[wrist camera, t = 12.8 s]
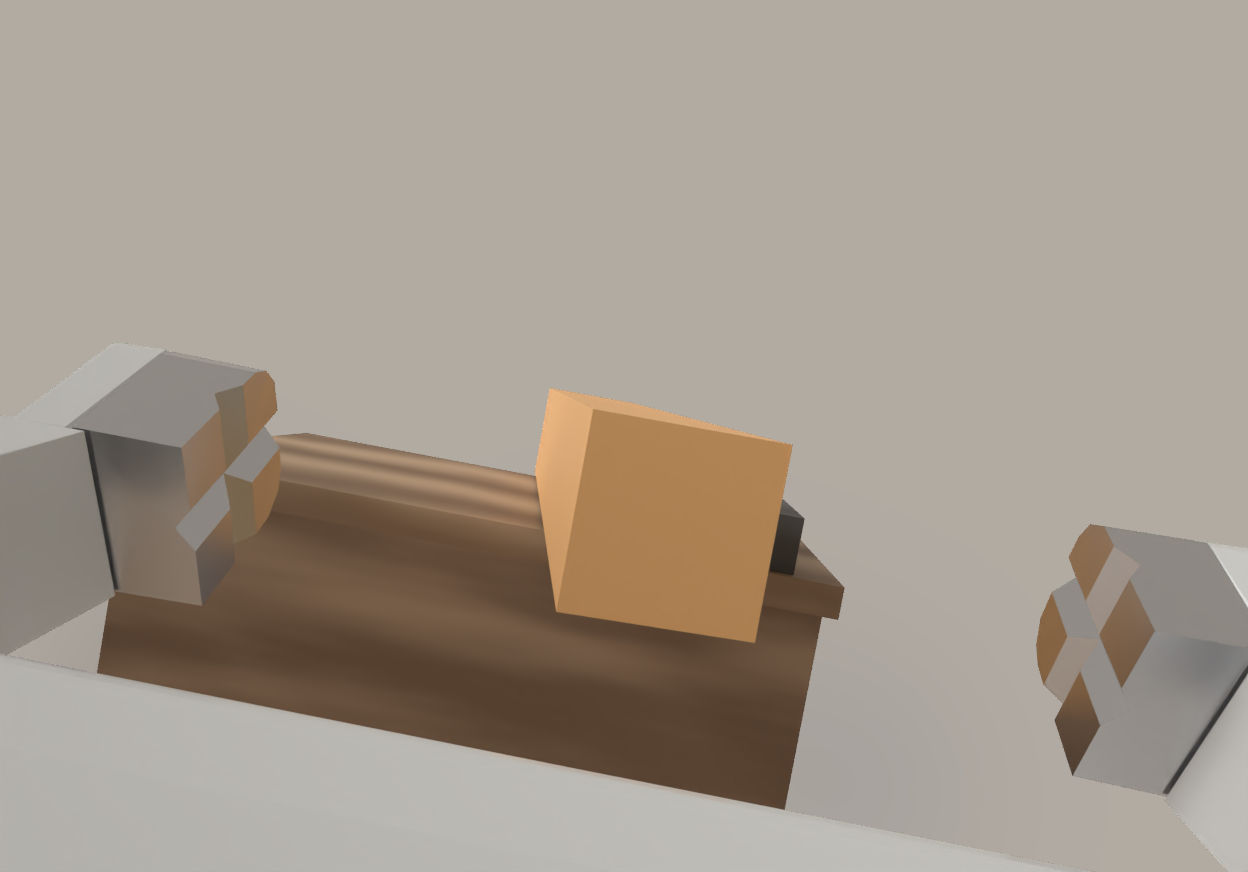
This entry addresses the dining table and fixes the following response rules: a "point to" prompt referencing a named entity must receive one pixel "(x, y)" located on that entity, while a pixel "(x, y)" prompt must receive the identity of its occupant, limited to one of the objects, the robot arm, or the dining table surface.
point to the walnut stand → (477, 631)
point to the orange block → (657, 515)
